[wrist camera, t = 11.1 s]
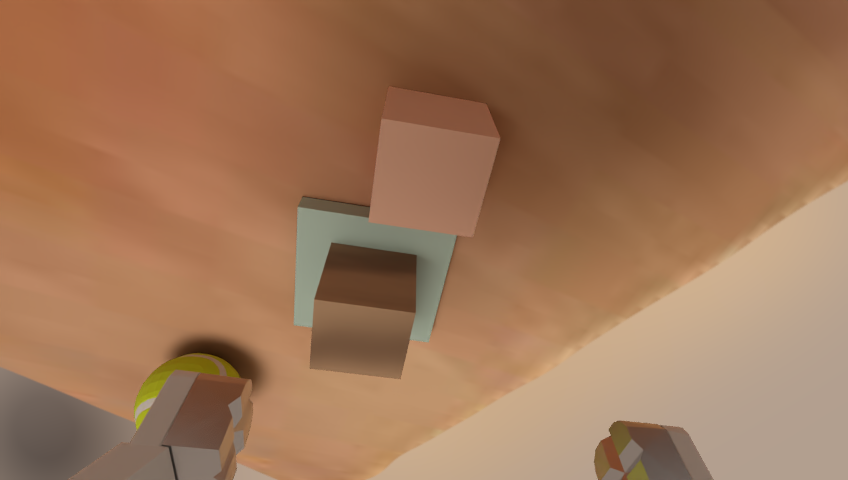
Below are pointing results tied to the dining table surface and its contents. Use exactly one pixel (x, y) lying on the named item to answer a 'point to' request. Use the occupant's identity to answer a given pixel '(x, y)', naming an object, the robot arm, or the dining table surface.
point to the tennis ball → (160, 375)
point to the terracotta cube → (432, 162)
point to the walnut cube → (364, 311)
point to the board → (351, 227)
